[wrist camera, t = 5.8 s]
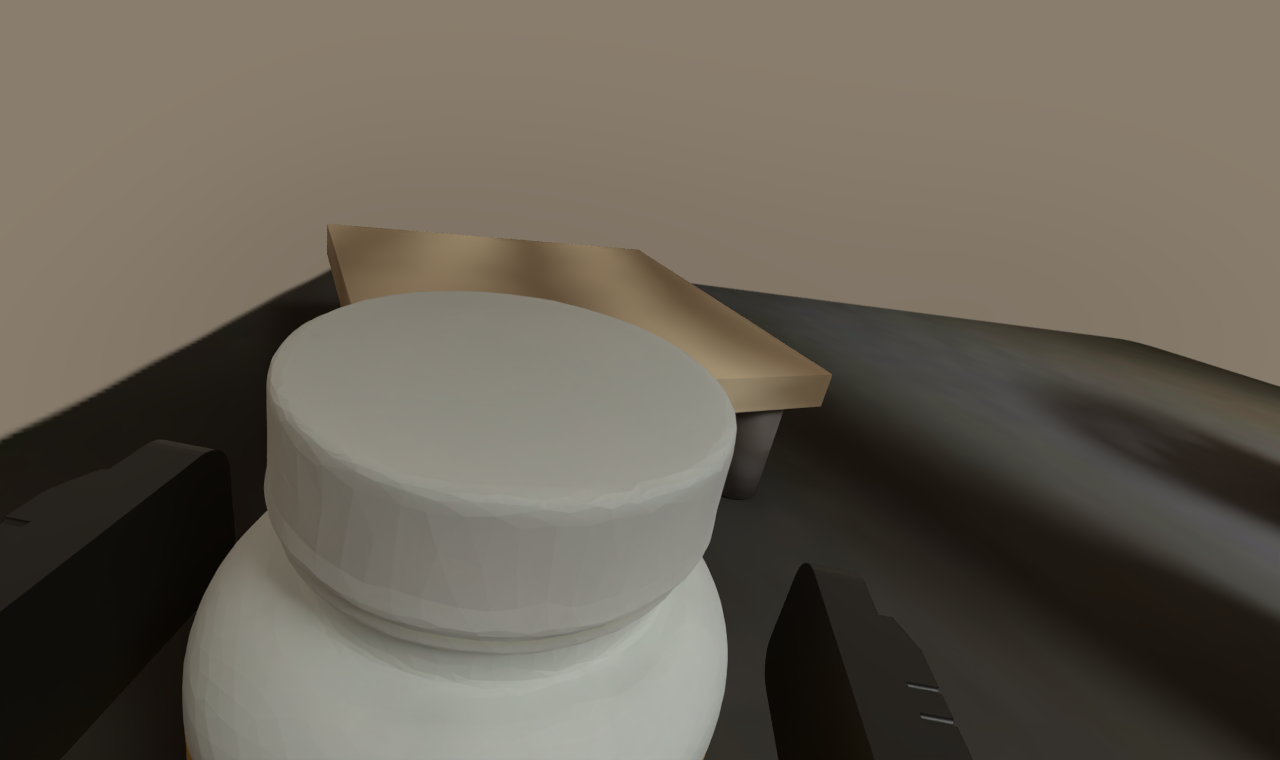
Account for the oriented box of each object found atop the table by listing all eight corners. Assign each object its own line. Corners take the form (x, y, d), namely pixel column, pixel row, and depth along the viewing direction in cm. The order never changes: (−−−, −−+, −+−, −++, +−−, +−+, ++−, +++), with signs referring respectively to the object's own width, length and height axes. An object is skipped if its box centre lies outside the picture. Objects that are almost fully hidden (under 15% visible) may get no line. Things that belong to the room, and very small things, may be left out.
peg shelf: (618, 344, 33) (638, 249, 31) (785, 501, 23) (832, 374, 21) (327, 345, 26) (327, 223, 24) (371, 574, 16) (378, 392, 14)
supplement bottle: (121, 1203, 7) (-160, 480, 3) (337, 741, 12) (340, 237, 8) (604, 1238, 7) (926, 651, 3) (619, 780, 12) (757, 322, 8)
